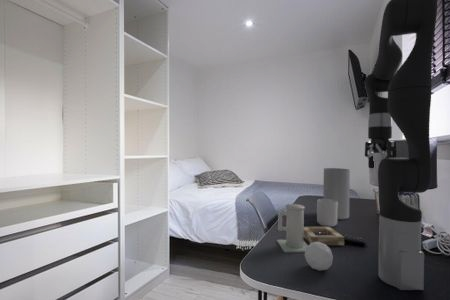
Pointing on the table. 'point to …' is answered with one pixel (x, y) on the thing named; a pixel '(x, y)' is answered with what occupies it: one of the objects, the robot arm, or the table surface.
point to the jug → (293, 225)
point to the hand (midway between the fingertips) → (379, 169)
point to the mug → (327, 212)
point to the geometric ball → (318, 256)
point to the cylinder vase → (338, 189)
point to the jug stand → (323, 236)
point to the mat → (290, 249)
